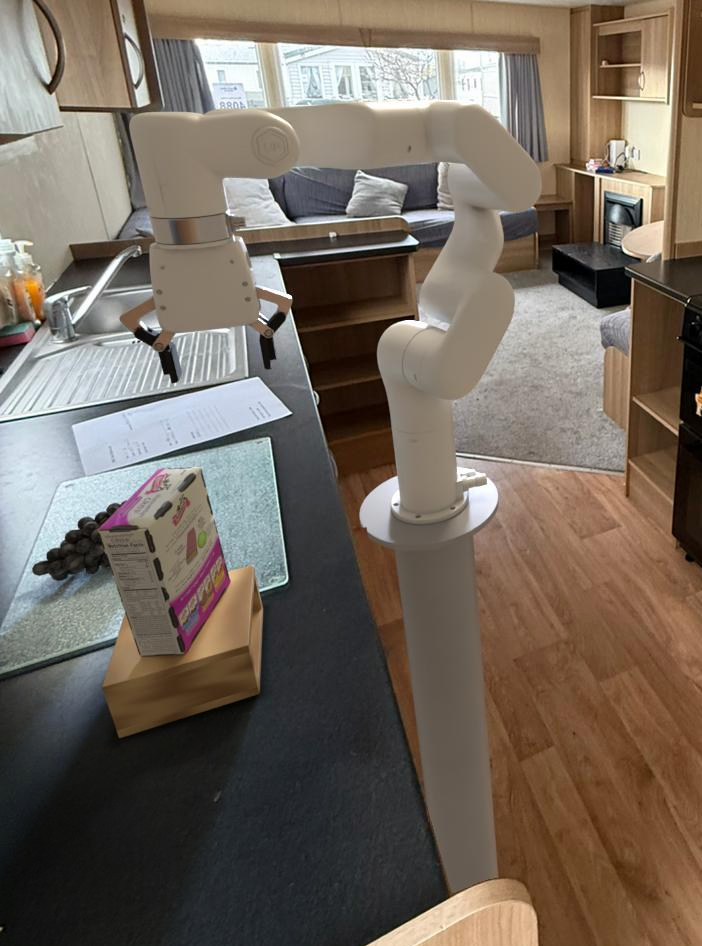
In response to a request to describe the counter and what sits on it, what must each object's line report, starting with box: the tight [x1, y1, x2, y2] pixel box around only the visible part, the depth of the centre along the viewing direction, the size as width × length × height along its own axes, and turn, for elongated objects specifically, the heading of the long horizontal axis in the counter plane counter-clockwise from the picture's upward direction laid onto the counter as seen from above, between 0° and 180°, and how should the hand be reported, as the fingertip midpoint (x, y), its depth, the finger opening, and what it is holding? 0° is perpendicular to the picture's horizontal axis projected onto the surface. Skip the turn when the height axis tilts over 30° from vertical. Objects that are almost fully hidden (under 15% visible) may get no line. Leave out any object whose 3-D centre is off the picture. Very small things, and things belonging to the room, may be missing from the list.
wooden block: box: [101, 564, 264, 739], centre depth 74 cm, size 13×14×7 cm
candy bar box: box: [97, 466, 231, 657], centre depth 70 cm, size 11×5×16 cm, turn 5°
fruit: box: [31, 499, 128, 582], centre depth 91 cm, size 9×8×15 cm
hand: (223, 372), depth 77 cm, fingers open, 9 cm apart
